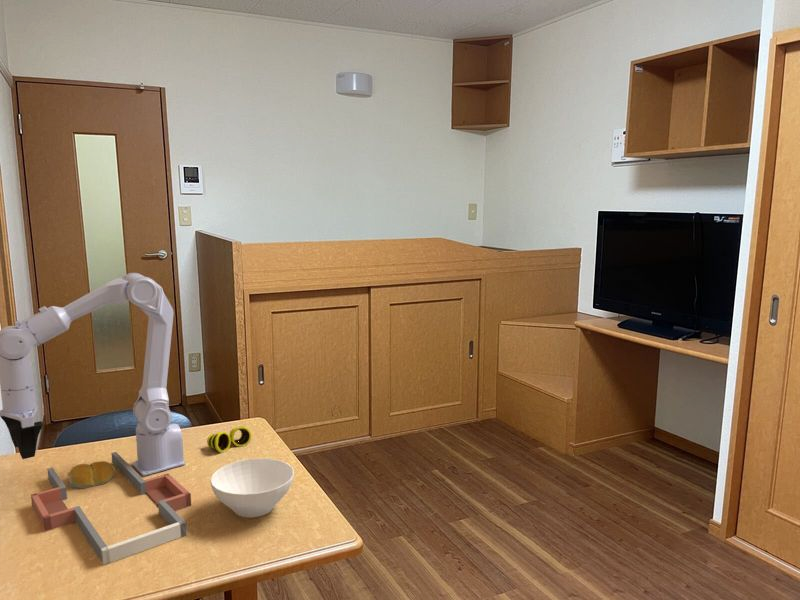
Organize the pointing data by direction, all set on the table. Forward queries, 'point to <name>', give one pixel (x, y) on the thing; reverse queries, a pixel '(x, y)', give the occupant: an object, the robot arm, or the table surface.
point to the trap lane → (57, 515)
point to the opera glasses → (228, 439)
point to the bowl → (252, 485)
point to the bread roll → (90, 474)
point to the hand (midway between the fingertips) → (24, 451)
